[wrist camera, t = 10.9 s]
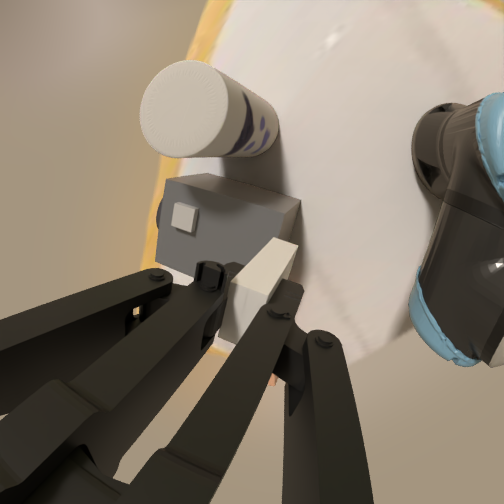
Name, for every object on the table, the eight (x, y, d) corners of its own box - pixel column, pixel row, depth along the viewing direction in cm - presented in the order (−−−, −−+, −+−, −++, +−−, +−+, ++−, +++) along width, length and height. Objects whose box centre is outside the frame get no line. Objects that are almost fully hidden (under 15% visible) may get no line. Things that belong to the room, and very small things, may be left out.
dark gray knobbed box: (301, 200, 44) (282, 215, 32) (280, 270, 48) (256, 306, 36) (194, 169, 48) (146, 175, 36) (182, 235, 52) (137, 257, 40)
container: (270, 163, 43) (213, 167, 25) (212, 149, 46) (130, 149, 28) (285, 102, 40) (238, 62, 22) (225, 92, 42) (150, 59, 24)
